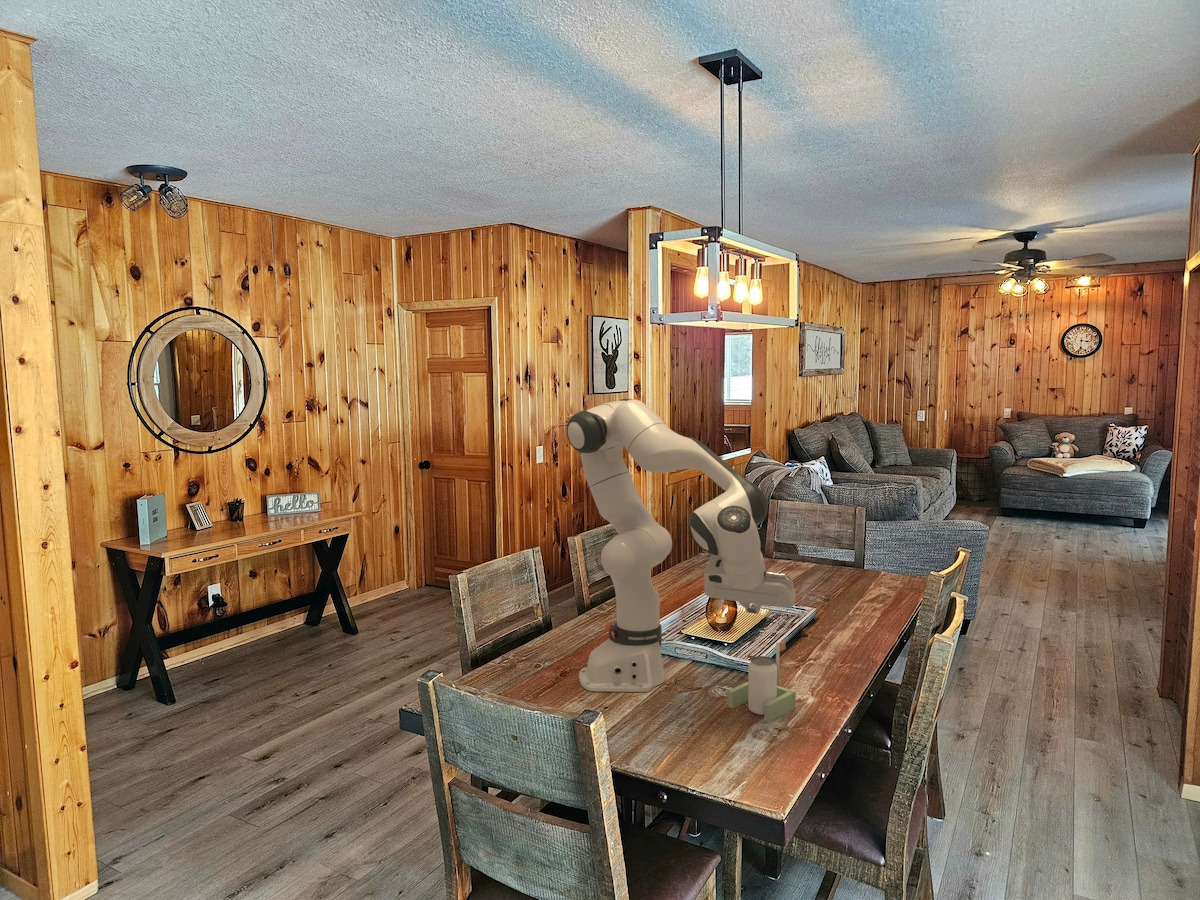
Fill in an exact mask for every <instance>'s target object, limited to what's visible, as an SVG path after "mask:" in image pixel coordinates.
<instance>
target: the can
mask: <svg viewBox="0 0 1200 900" xmlns="http://www.w3.org/2000/svg"><path fill="white" fill-rule="evenodd" d="M747 672H748V680H747V682H748V701H747V707H748V708H747V709H748V710H749V711H750V712H751V713H752V714H754V715H756V716H757V715H759V716H764V711H765V704H766V703H768V702H770V701H771V700H773V699H775V698H777V667H776V659H774V658H773V657H771V656H764V655H757V656H753V657H751V658H750V662H749V664H748V671H747Z"/></svg>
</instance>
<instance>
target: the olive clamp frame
mask: <svg viewBox="0 0 1200 900" xmlns="http://www.w3.org/2000/svg"><path fill="white" fill-rule="evenodd" d="M786 642H787V641H786V640H783V641H780V642H776V643H775V665H776V667H777V698H775V699H773V700H771V701H770V702H768V703H766V704H765V711H764V715H763V718H764V722H765V723H771V722H772V721H774V720H776V719H778V718H780V717H782V716H784V715H786V714H787V713H789V712H791V711H793V710H795V709H796V706H797V705H796V703H797V700H796V698H797V692H796V691H795V690H792V689H788V688H786V687H783V686H780V655H781V654H780V652H782V651H784V650H786ZM746 702H748V681H746V682H744V683H741V684H739V685H737V686H735V687H734V688H731V689H729V690H728V691H727V708H730V709H735V708H736V707H738V706H740V705H743V704H744V703H746ZM794 708H795V709H794Z"/></svg>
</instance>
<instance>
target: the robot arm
mask: <svg viewBox="0 0 1200 900" xmlns="http://www.w3.org/2000/svg"><path fill="white" fill-rule="evenodd" d="M566 437H567V439H568V442H569V444H570V446H571V447H572V448H573V449H574V450H575V451H576V452H578V453H580V460H581V465H582V469H583V472H584V473H583V474H584V477H585V479H586V483H587V484H588V488H589V490H590V493H591V496H592V498H593V500H594V503H595V506H596V508H597V510H598V514H599V515H600V516H601V517H602V518H603V520H606V521H607V522H609V523H610V525H611V526H612V527H613V528H614V529H615V531H616V532H617V535H615V536H613V537H612V538H611V539H610V540H609V541H608V542H607V543H606V544H605V545H604V547H603V548H602V549H601V554H600V562H601V566H602V568H603V570H604V571H605V573H607V574H608V575H609V577H610V579H611V581H612V584H613V587H614V592H615V597H616V599H615V601H616V603H615V604H616V605H615V606H616V608H615V609H616V623H614V624H613V622H610V621H609V622H607V623H606V624H605V623H604V628H605V630H606V632H608V638H607V639H606V640H604V641H603V642H602V643H601V644H600V645H598V646H597V647H596V648H594V649H592V650H591V652H590V653H589V656H588V660H587V666H585V667H582V668H581V669H580V670H579V671H578V672H579V673H578V680H579V684H580V685H581V687H582V688H583V689H585V690H587V691H588V692H611V693H612V692H614V693H615V692H617V693H618V692H619V693H621V692H622V693H623V692H629V693H631V692H632V693H633V692H635V693H636V692H637V693H638V692H639V693H647V692H650V691H651V690H652V689H653V688H654V687H656V686H659V685H661V684H662V683H664V682H665V681H666V680H667V675H666V671H665V667H664V664H663V658H662V649H661V647H662V641H663V630H662V629H663V628H662V624H661V623H660V622H661V621H660V620H661V619H660V614H661V613H660V612H661V611H660V610H661V609H660V608H661V607H660V602H661V601H660V600H661V599H660V598H661V597H660V594H659V592H658V591H657V590H656V588H655V587H654V584H653V581H652V575H651V573H652V572H651V571H652V569H653V568H654V567H656V566H658V565H660V564H662V562H664V560H666V558H667V557H668V556H669V555H670V553H671V551H672V549H673V540H672V536H671V534H670V532H669V531H668V530H667V529H666V528H665V527H664V526H662V525H661V524H659V523H658V522H657V521H656V519H655V518H654V517H653V515H652V514H651V513H650V511H649V510H648V508H647V507H646V505H645V504H644V502H643V500H642V498H641V497H640V495H639V492H638V490H637V488H636V486H635V482H634V480H633V478H632V476H631V473H630V471H629V469H628V466H627V464H626V461H625V459H624V456H623V448H624V449H625V450H626V451H627V453H628V454H629V455H630V456H631V458H632V459H633V461H635V463H637V465H638V466H639V467H640V468H642V469H643V470H644V471H647V472H649V473H655V474H665V473H670V472H675V471H681V470H697V471H700V472H701V473H703V474H705V475H706V476H708V478H710V479H711V480H712V481H713V482H714V483H715V484H716V485H718V487H719V488H721V489H722V490H723V491H724V492H723V493H721V494H719V495H718V496H716V497H715V498H713V499H711V500H710V501H709V500H708V501H707V502H706V503H704V504H702V505H701V506H699V507H697V508H696V509H695V510H693V511H691V513H690V516H689V520H688V530H689V532H690V534H691V537H692V539H693V542H694V543H695V544H696V546H698V547H699V548H700V549H701V550H702V551H704V552H706V553H708V554H711V556H710V558H709V560H708V562H707V564H706V567H705V570H704V573H703V578H704V580H703V589H704V594H705V595H706V596H707V597H709V599H711V598H712V599H719V600H727V601H731V602H732V601H734V602H738V603H739V605H741V607H743V608H744V609H745V613H747V614H749V613H750V614H754V615H755V614H756V615H759V614H760V612H761V607H762V605H763V606H770V607H777V608H784V609H791V608H792V607H793V606H794V605H795V603H796V598H797V593H796V589H795V584H794V579H793V578H792V577H790V576H789V575H786V573H783V572H778V573H777V572H774V571H766V570H767V569H766V566H765V565H766V564H765V561H764V555H763V553H762V551H761V539H760V538H761V537H760V534H759V531H758V530H759V529H758V528H757V527H758V526H757V525H759V524H761V523H763V522H765V519H766V517H767V514H768V509H769V501H768V498H767V496H766V494H765V493H764V492H763V490H762V489H761V488H760V487H759V486H757V484H755V483H753V482H751V481H750V480H748V479H747V478H745V477H743V475H741V474H740V473H739V472H737V471H736V470H735V469H733V468H732V467H731V466H730V465H729V464H728V463H727V462H726V461H724V460H723V459H722V458H721V457H720V456H719V455H717V453H715V452H714V451H712V449H710V448H709V447H707V445H705V444H704V443H703V442H701V441H700V440H698V439H697V438H695V437H687V436H684V435H681V434H678V433H677V432H676V431H674V430H672V429H671V428H670V427H669V426H668V425H667V424H666V423H665V422H664V421H663V419H662V418H661V417H660V416H659V415H658V414H656V412H655V411H653V410H652V409H651V408H650V407H649V406H648V405H647V404H645V403H644V402H643V401H641V400H639V399H635V398H634V399H633V398H623V399H620V400H615V401H609V402H604V403H600V404H599V405H597V406H594V407H591V408H588V409H587V410H580V411H578V412H577V413H575V414H573V415H572V416H571V417H569V419H568V421H567V425H566Z"/></svg>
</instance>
